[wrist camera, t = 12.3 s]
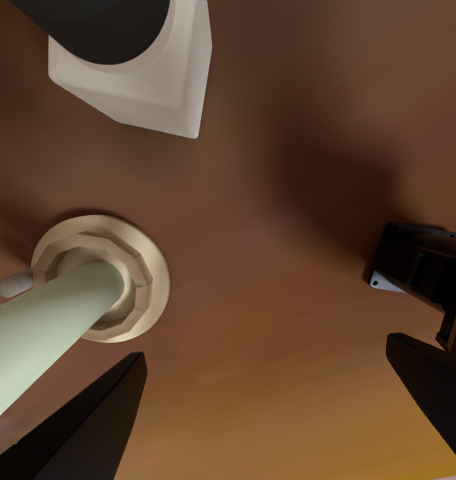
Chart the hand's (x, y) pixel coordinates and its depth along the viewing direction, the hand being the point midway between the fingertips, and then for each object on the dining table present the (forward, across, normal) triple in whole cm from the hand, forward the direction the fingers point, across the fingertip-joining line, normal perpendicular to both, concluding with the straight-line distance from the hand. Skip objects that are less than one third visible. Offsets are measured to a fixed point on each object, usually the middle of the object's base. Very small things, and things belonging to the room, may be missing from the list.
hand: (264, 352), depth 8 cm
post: (+12, +14, +2) cm, 18 cm away
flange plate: (+13, +14, +2) cm, 19 cm away
